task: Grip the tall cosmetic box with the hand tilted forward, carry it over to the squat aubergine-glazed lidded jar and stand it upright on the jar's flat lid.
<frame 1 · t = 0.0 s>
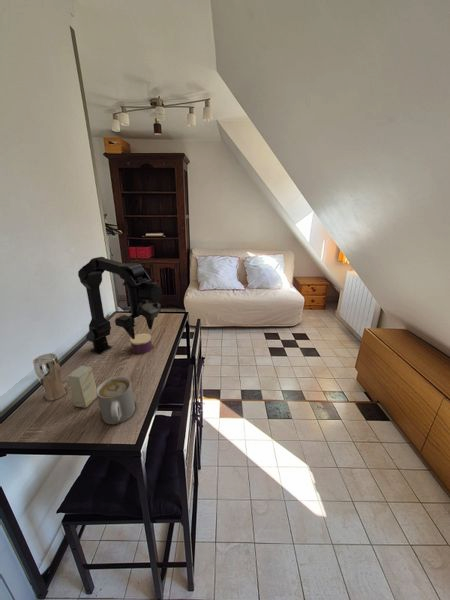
hand: (142, 333, 100), 15 cm above the table, tool pointing down, fingers open, 9 cm apart
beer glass: (55, 394, 89), on the table
cosmetic box: (87, 401, 86), on the table
coffee mug: (117, 416, 79), on the table
jar: (142, 348, 117), on the table
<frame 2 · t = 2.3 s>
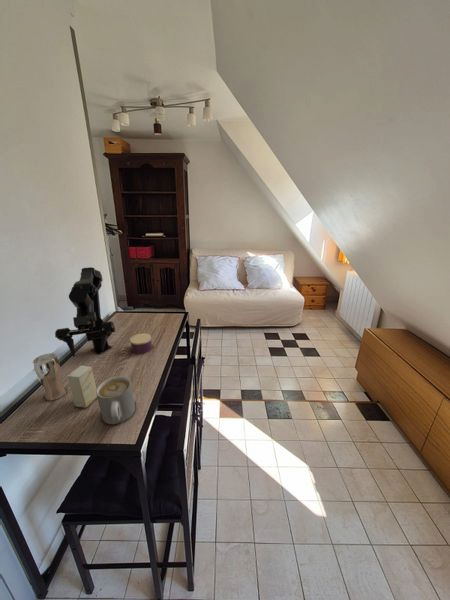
hand: (88, 353, 89), 13 cm above the table, tool tilted 40°, fingers open, 9 cm apart
nothing on the table moved.
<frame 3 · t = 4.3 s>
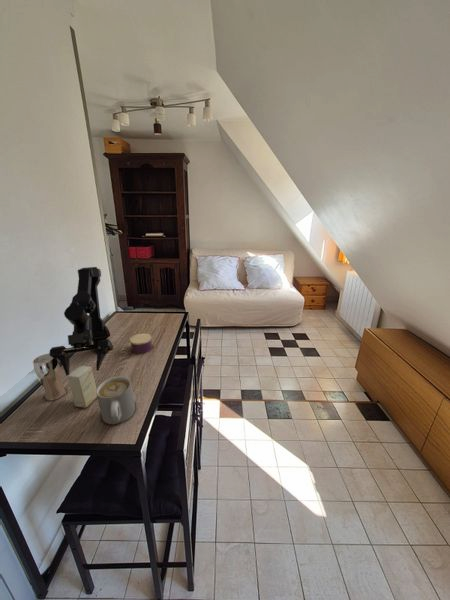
hand: (82, 373, 85), 10 cm above the table, tool tilted 45°, fingers open, 9 cm apart
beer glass: (55, 394, 89), on the table, touching gripper
everything else where it was.
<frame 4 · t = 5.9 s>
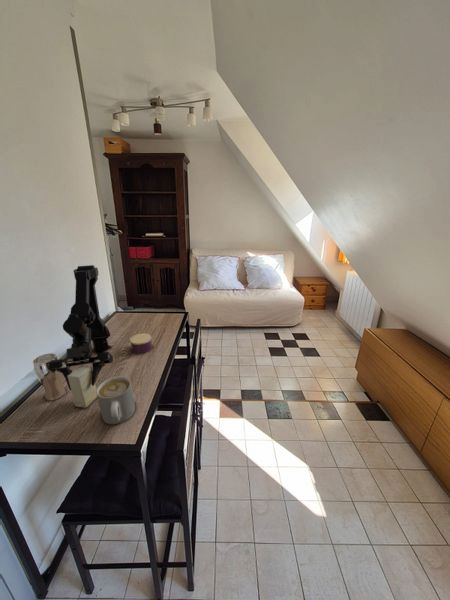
hand: (82, 387, 82), 7 cm above the table, tool tilted 45°, fingers closed on cosmetic box, 6 cm apart
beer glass: (55, 394, 89), on the table
cosmetic box: (87, 401, 86), on the table, touching gripper
everything else where it was.
when the fingers open (12 cm above the table, at t = 13.2 s): cosmetic box stays where it is, resting on jar.
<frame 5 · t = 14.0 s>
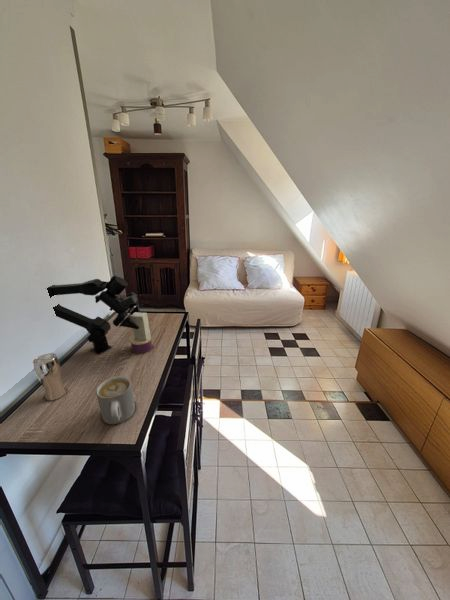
hand: (141, 323, 113), 13 cm above the table, tool tilted 45°, fingers open, 9 cm apart
cosmetic box: (142, 338, 116), point 5 cm above the table, touching jar
everything else where it was.
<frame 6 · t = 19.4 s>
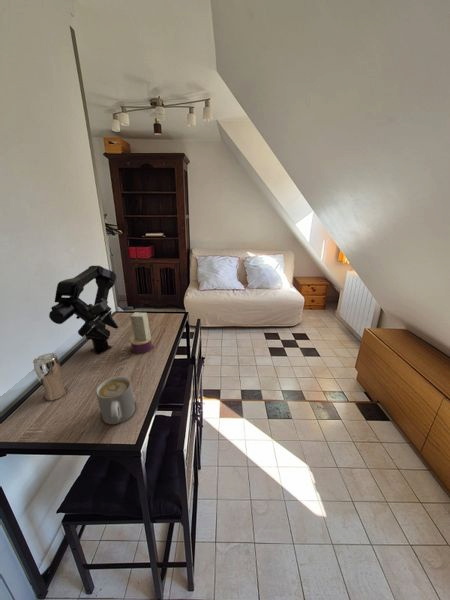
hand: (113, 333, 103), 14 cm above the table, tool tilted 45°, fingers open, 9 cm apart
nothing on the table moved.
at the end: cosmetic box 0.7 cm off-centre on the jar, point 5.3 cm above the jar's base; cosmetic box tilted 0°; the gripper is holding nothing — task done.
